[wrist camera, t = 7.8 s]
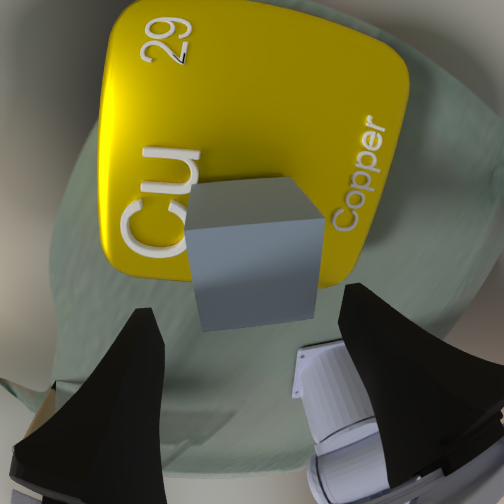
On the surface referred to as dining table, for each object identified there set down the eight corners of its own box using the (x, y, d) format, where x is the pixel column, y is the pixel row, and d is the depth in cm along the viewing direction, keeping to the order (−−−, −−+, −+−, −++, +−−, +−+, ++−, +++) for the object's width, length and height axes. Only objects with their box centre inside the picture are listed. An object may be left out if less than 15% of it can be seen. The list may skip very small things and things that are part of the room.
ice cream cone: (34, 379, 25) (9, 481, 13) (35, 359, 23) (3, 475, 11) (73, 398, 28) (57, 501, 15) (79, 380, 26) (58, 499, 13)
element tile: (325, 256, 22) (349, 297, 18) (120, 239, 19) (100, 282, 14) (378, 60, 14) (424, 58, 10) (138, 14, 11) (114, -10, 7)
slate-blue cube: (287, 259, 15) (313, 318, 12) (202, 267, 15) (202, 331, 11) (290, 176, 13) (325, 218, 9) (191, 184, 12) (183, 230, 9)
